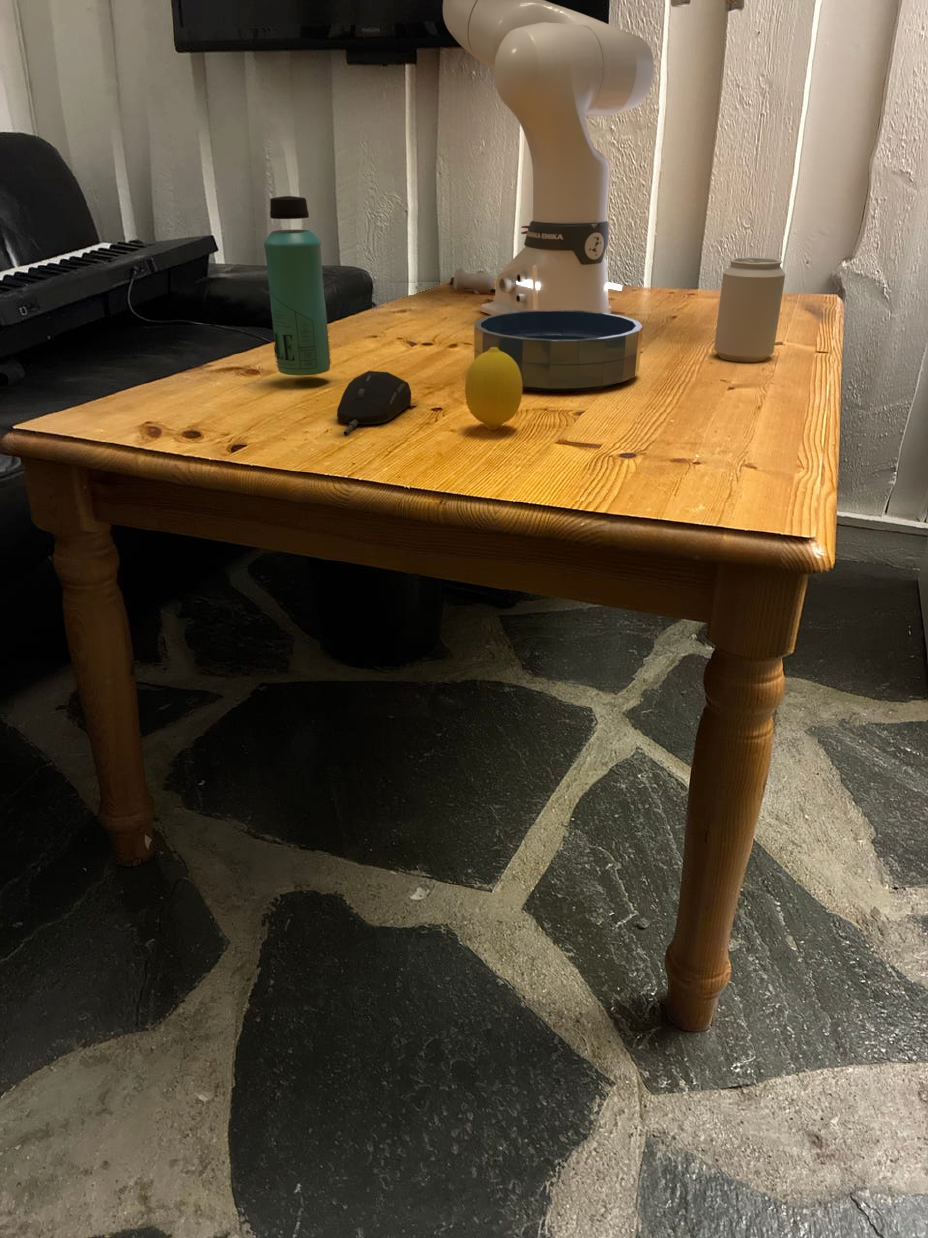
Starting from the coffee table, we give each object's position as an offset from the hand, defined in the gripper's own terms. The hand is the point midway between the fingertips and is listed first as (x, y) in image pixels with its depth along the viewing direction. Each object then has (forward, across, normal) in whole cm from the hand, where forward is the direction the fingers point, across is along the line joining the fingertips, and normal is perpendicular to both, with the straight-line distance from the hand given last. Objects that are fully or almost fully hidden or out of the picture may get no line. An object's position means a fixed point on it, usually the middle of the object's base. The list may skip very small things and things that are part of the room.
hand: (707, 8), depth 108 cm
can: (+40, 0, +8) cm, 41 cm away
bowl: (+39, +26, +1) cm, 47 cm away
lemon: (+41, +46, +15) cm, 63 cm away
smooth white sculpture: (+33, -5, -58) cm, 67 cm away
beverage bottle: (+38, +52, -14) cm, 66 cm away
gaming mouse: (+40, +53, +3) cm, 66 cm away
